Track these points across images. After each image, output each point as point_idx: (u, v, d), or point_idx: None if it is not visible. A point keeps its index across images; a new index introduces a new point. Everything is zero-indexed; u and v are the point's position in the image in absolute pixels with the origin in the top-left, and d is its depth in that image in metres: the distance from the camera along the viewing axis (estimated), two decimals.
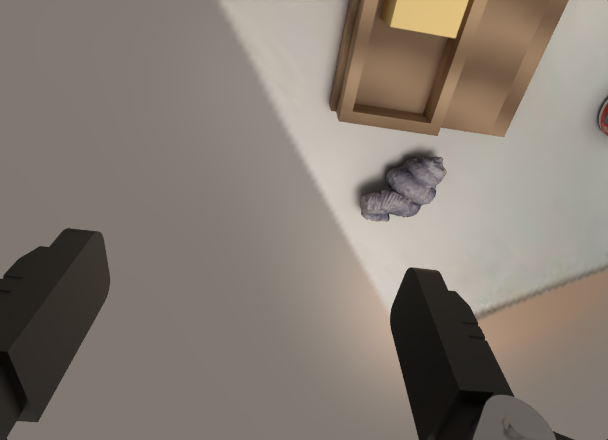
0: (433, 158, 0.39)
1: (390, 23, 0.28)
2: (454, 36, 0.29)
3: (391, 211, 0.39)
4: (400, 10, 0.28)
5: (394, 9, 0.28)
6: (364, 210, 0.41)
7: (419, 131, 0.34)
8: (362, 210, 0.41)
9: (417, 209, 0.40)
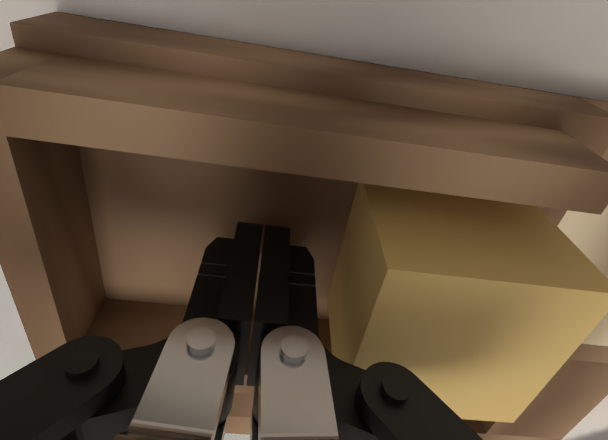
0: None
1: (395, 263, 0.08)
2: None
3: None
4: (435, 291, 0.08)
5: (440, 271, 0.08)
6: None
7: (35, 341, 0.11)
8: None
9: None
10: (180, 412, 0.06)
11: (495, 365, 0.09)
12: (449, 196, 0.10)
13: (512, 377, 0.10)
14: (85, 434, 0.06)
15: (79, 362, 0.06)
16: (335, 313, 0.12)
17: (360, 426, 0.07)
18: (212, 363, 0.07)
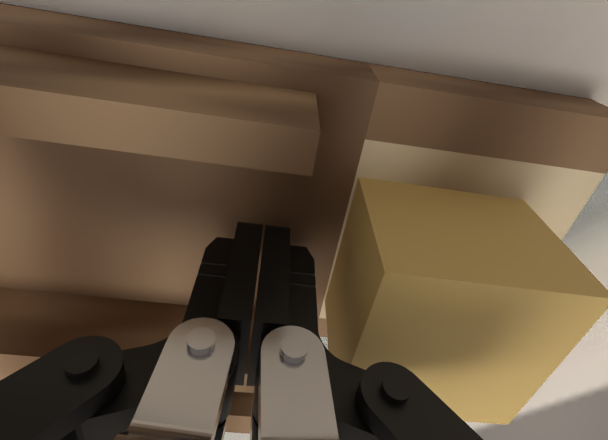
0: None
1: (392, 266, 0.08)
2: None
3: None
4: (431, 295, 0.08)
5: (436, 274, 0.08)
6: None
7: None
8: None
9: None
10: (180, 412, 0.06)
11: (489, 368, 0.09)
12: (446, 200, 0.11)
13: (507, 380, 0.10)
14: (85, 434, 0.06)
15: (79, 362, 0.06)
16: (332, 315, 0.12)
17: (360, 426, 0.07)
18: (212, 363, 0.07)
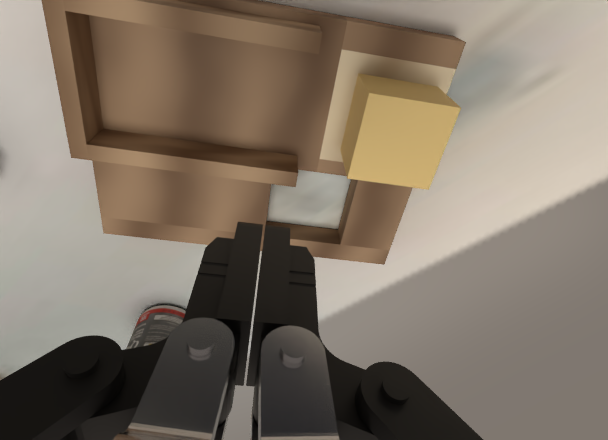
0: None
1: (372, 92, 0.20)
2: (349, 176, 0.23)
3: None
4: (387, 105, 0.20)
5: (389, 96, 0.20)
6: None
7: (68, 130, 0.22)
8: None
9: None
10: (180, 412, 0.06)
11: (415, 149, 0.22)
12: (399, 82, 0.23)
13: (424, 157, 0.22)
14: (85, 434, 0.06)
15: (79, 362, 0.06)
16: (345, 146, 0.24)
17: (360, 426, 0.07)
18: (212, 363, 0.07)
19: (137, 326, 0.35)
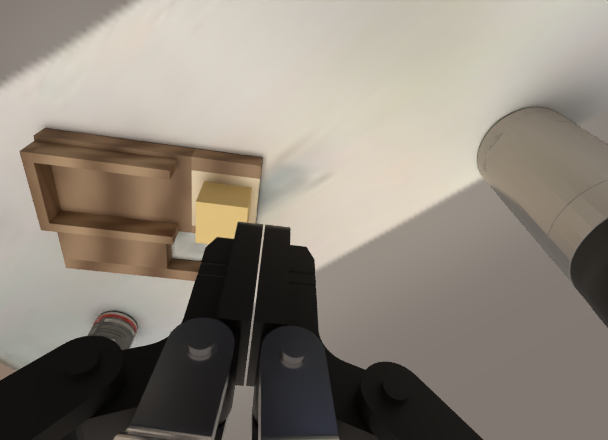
0: None
1: (198, 200, 0.37)
2: (196, 241, 0.40)
3: None
4: (207, 206, 0.38)
5: (207, 202, 0.37)
6: None
7: (39, 216, 0.40)
8: None
9: None
10: (180, 412, 0.06)
11: (229, 227, 0.39)
12: (225, 187, 0.40)
13: (235, 231, 0.39)
14: (85, 434, 0.06)
15: (79, 362, 0.06)
16: None
17: (360, 426, 0.07)
18: (212, 363, 0.07)
19: (93, 326, 0.53)
